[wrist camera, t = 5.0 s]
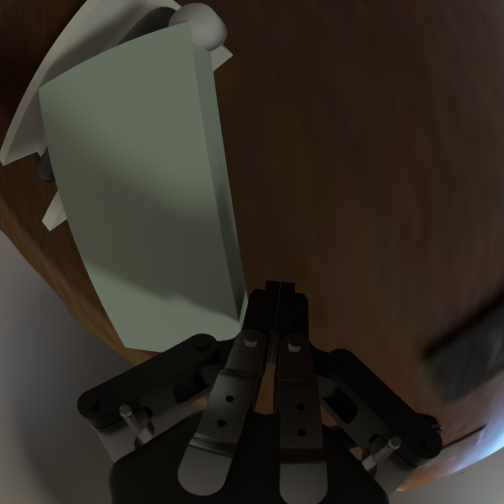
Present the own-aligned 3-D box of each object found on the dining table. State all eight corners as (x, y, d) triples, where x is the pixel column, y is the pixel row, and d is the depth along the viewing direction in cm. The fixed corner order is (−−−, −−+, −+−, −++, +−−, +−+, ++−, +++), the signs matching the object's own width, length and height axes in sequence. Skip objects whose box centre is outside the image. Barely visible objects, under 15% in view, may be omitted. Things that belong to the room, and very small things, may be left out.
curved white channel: (161, -10, 12) (122, -36, 7) (233, 55, 14) (209, 36, 9) (43, 140, 18) (-2, 157, 13) (91, 201, 20) (50, 231, 16)
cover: (68, 71, 10) (36, 72, 8) (226, 14, 9) (211, -4, 6) (139, 321, 18) (125, 347, 16) (266, 326, 17) (262, 358, 15)
